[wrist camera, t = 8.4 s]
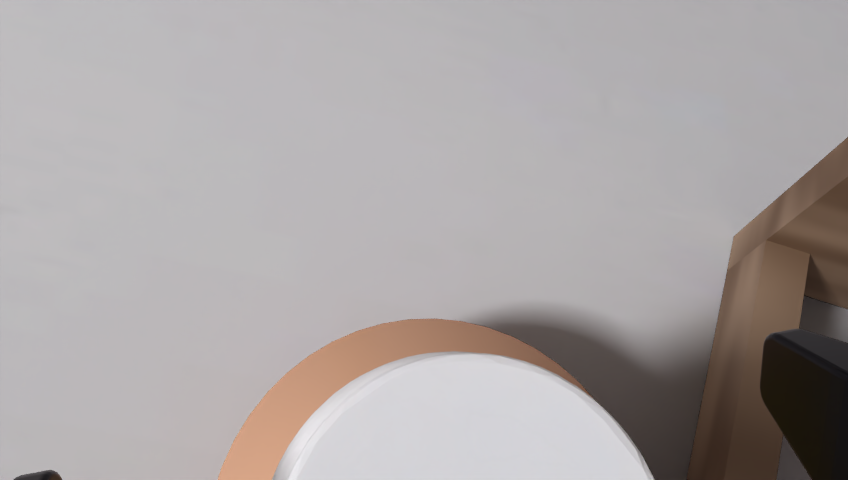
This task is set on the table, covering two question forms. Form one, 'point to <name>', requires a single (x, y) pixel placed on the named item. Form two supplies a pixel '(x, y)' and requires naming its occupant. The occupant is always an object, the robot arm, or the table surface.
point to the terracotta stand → (342, 363)
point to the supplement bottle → (461, 426)
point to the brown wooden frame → (769, 316)
